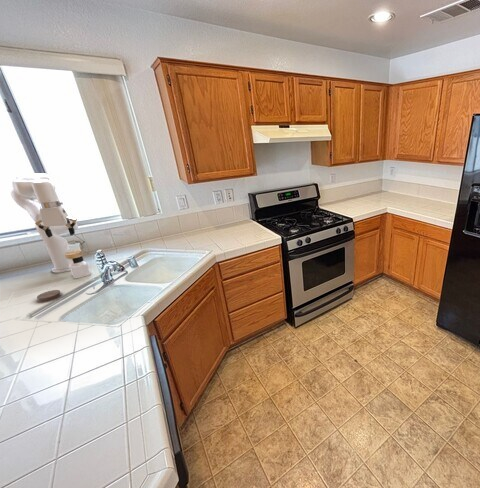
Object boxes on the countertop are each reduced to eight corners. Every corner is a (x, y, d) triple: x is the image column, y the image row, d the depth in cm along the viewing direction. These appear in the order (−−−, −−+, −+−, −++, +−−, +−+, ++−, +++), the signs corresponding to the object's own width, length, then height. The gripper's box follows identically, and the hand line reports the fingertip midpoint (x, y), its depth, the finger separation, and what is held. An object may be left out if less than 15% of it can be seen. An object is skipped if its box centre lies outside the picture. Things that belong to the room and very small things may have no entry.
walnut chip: (44, 295, 134) (42, 291, 134) (64, 291, 137) (63, 288, 137) (34, 303, 127) (32, 300, 126) (56, 299, 130) (54, 296, 129)
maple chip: (69, 255, 153) (68, 251, 152) (85, 253, 156) (84, 249, 155) (63, 259, 147) (61, 255, 146) (79, 257, 149) (78, 253, 148)
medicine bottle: (88, 271, 160) (81, 253, 156) (90, 274, 156) (84, 256, 152) (72, 275, 155) (65, 256, 151) (75, 279, 151) (67, 259, 146)
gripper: (73, 202, 145) (84, 231, 151) (33, 205, 139) (45, 235, 145) (66, 205, 138) (77, 235, 144) (23, 207, 133) (37, 239, 139)
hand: (61, 235), depth 145 cm, fingers open, 9 cm apart
